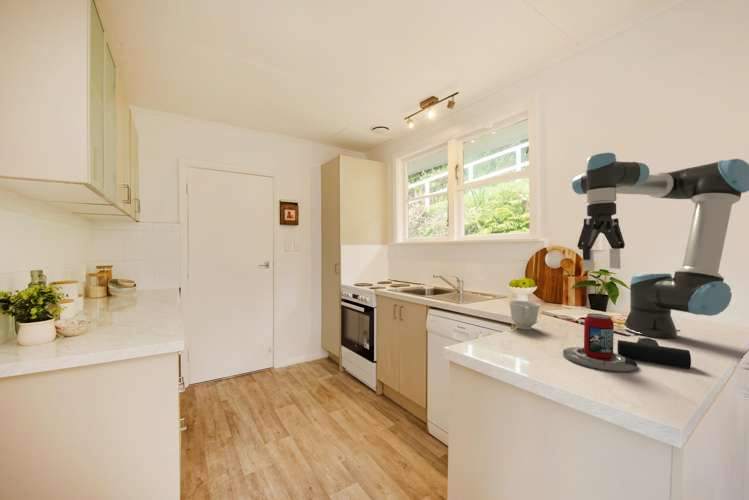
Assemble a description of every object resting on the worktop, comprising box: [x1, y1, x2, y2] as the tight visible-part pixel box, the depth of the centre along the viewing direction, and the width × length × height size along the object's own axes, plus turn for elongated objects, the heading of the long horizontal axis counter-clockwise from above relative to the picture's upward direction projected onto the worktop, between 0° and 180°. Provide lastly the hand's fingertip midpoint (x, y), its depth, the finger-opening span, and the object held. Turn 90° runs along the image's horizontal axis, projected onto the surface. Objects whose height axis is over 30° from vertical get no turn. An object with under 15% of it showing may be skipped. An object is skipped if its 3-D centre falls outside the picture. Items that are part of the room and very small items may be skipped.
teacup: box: [507, 300, 542, 330], centre depth 121 cm, size 12×15×10 cm
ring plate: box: [562, 346, 638, 374], centre depth 87 cm, size 17×17×2 cm
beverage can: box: [583, 312, 615, 360], centre depth 87 cm, size 7×7×12 cm
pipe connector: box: [616, 337, 692, 370], centre depth 89 cm, size 12×5×15 cm
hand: (602, 269), depth 97 cm, fingers open, 13 cm apart
